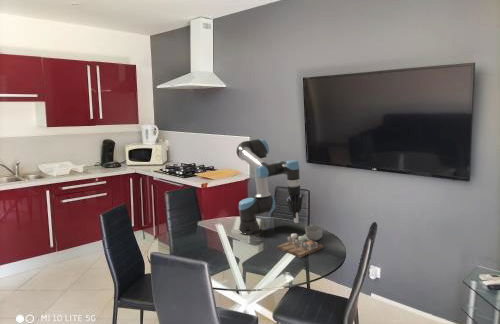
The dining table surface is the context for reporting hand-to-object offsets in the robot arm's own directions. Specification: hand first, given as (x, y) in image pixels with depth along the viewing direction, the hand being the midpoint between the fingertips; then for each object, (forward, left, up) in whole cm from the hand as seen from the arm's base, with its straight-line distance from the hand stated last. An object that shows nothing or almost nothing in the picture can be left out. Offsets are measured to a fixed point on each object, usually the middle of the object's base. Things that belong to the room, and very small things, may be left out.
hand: (296, 222), depth 230 cm
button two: (+4, 0, -12) cm, 12 cm away
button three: (+11, 0, -13) cm, 17 cm away
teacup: (-1, +15, -16) cm, 22 cm away
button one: (-3, 0, -12) cm, 12 cm away
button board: (+4, -2, -15) cm, 16 cm away
